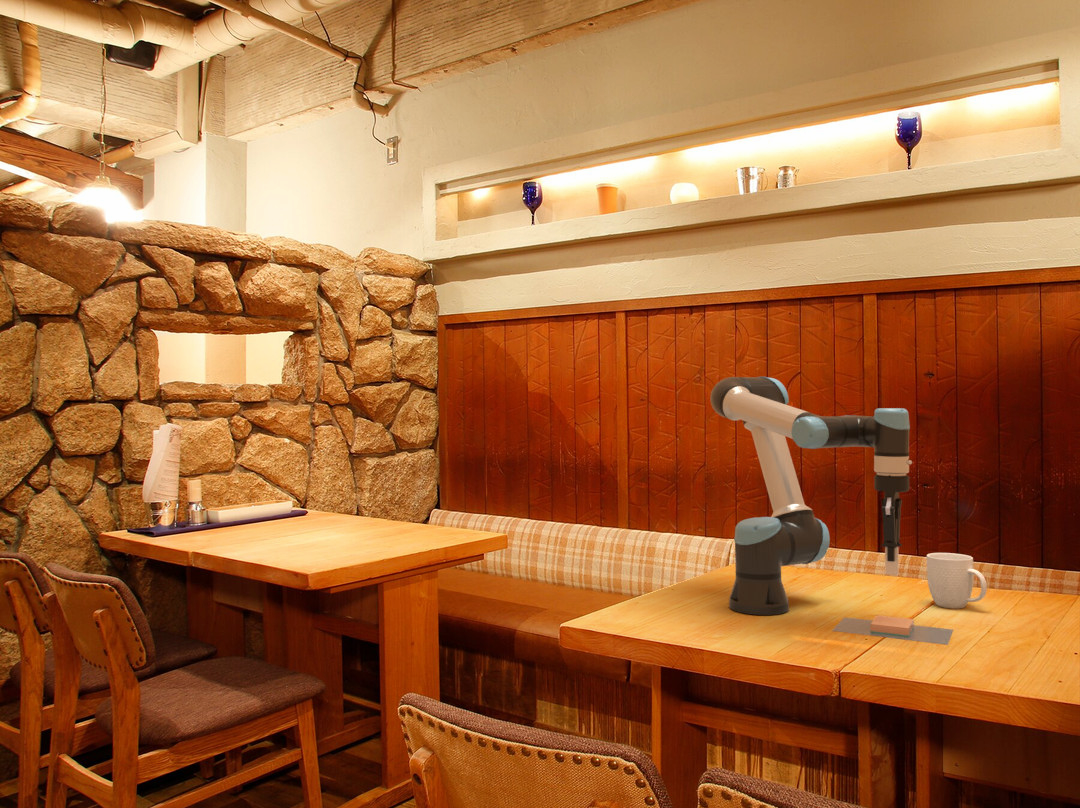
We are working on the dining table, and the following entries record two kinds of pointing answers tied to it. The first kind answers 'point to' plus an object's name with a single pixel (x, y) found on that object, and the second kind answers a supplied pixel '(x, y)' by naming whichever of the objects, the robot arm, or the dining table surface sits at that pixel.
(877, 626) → the tile
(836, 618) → the dining table surface
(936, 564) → the mug
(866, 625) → the slate board
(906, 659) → the dining table surface
